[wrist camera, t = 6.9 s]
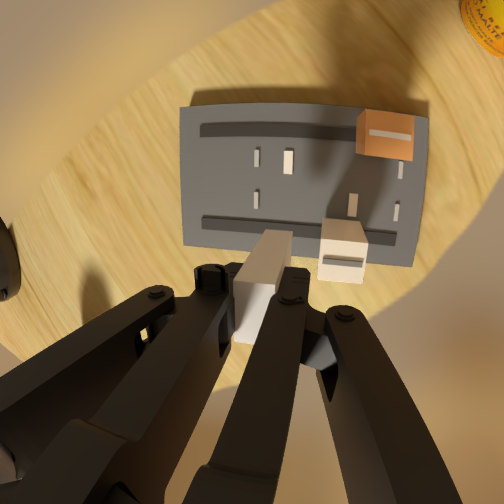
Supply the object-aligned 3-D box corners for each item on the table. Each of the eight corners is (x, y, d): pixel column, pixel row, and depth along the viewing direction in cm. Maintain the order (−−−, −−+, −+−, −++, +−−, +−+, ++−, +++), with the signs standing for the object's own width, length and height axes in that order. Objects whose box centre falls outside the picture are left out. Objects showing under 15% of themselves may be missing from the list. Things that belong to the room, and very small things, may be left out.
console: (191, 239, 26) (182, 246, 24) (188, 109, 22) (178, 107, 20) (407, 260, 22) (412, 268, 20) (422, 119, 18) (429, 117, 16)
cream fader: (319, 251, 21) (316, 281, 16) (322, 217, 20) (320, 239, 16) (355, 254, 20) (362, 285, 16) (359, 221, 20) (368, 244, 15)
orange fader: (355, 153, 18) (364, 155, 14) (356, 117, 17) (366, 108, 13) (393, 157, 18) (413, 161, 13) (394, 122, 17) (415, 115, 12)
